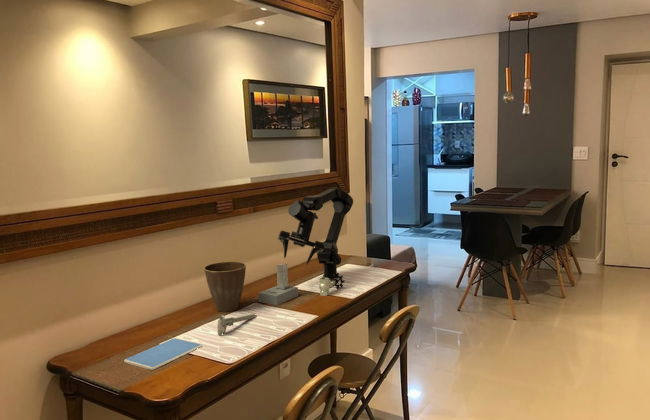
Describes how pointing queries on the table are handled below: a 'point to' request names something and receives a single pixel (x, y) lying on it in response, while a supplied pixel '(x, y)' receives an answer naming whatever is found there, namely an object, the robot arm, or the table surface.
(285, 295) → the bore block
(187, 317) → the table surface
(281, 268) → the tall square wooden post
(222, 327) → the caliper
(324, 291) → the valve
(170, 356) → the tablet computer
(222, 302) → the plant pot
